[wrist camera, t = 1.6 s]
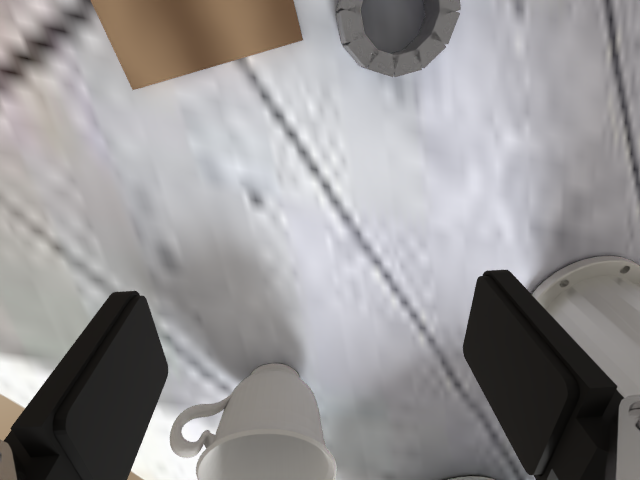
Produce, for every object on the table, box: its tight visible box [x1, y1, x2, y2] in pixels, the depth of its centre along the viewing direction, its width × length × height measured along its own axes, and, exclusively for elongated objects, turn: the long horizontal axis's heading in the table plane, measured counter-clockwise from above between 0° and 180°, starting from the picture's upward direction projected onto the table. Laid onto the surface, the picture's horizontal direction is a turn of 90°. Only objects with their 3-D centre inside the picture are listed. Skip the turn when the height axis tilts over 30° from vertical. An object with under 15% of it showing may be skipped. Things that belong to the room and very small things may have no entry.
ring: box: [336, 0, 461, 77], centre depth 23 cm, size 7×7×3 cm
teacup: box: [170, 363, 337, 480], centre depth 35 cm, size 12×15×10 cm
